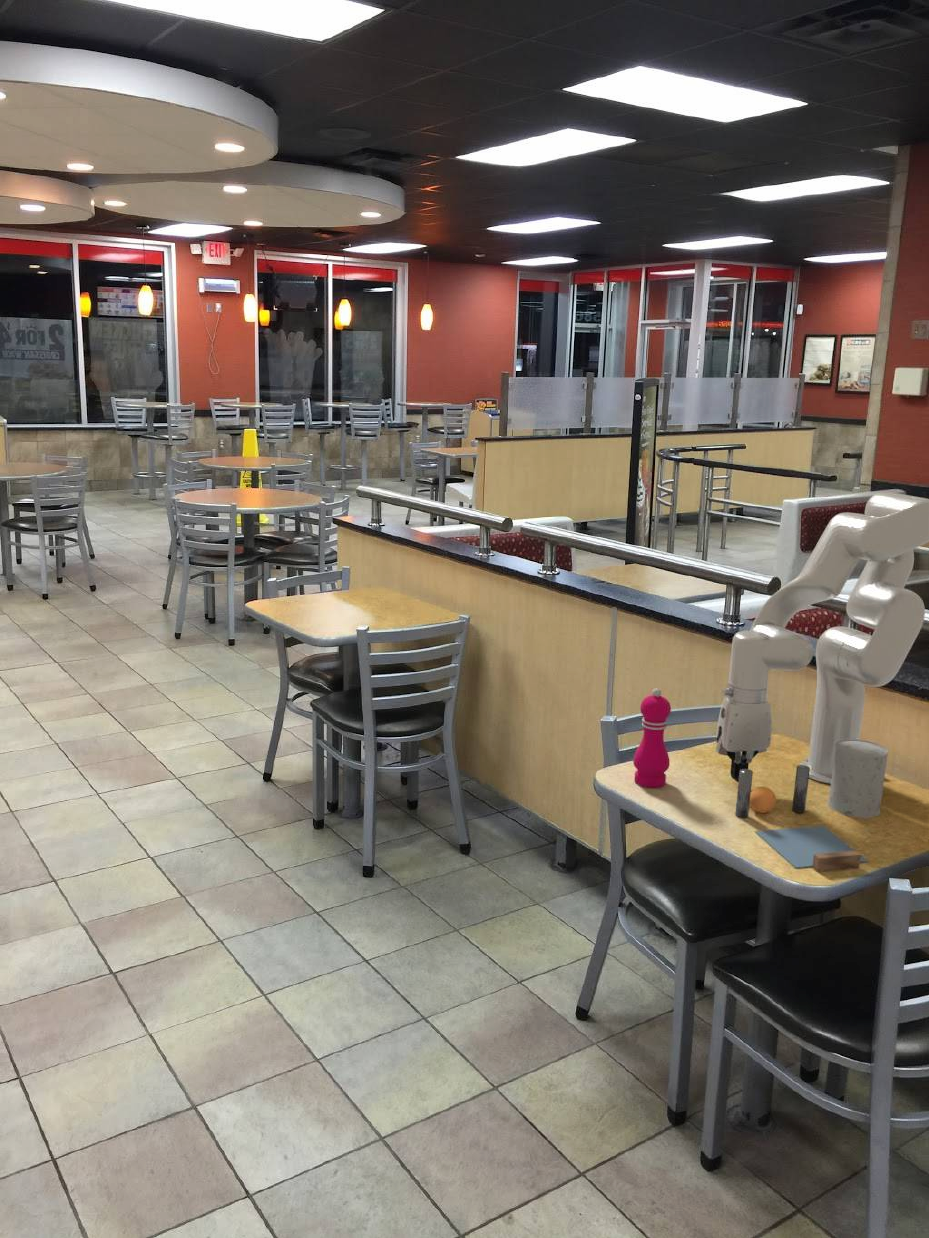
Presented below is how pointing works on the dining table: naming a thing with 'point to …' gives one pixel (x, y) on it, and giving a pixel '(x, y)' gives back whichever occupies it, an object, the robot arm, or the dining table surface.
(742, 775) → the post
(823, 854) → the wall
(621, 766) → the dining table surface
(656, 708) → the pepper mill
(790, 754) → the dining table surface
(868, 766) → the speckled stone cylinder
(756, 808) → the ball
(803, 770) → the post
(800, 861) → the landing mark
